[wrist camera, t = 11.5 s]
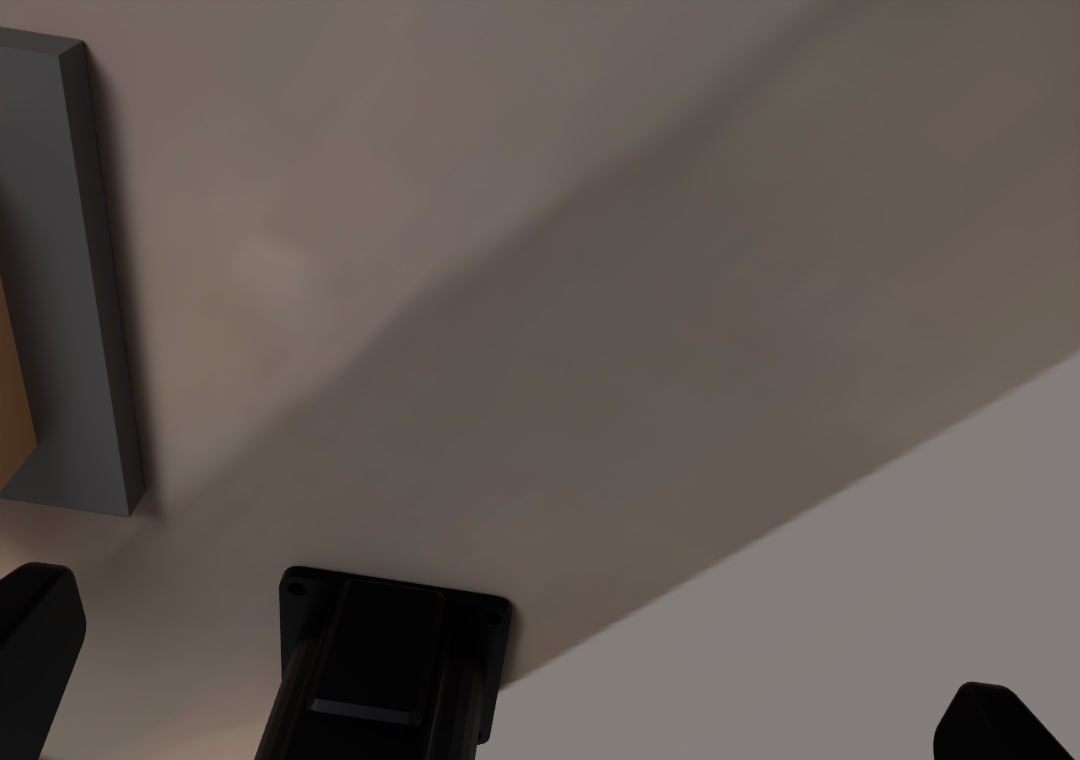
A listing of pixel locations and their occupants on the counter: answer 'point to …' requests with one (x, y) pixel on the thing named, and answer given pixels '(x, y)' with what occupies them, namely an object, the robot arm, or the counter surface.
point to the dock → (59, 293)
